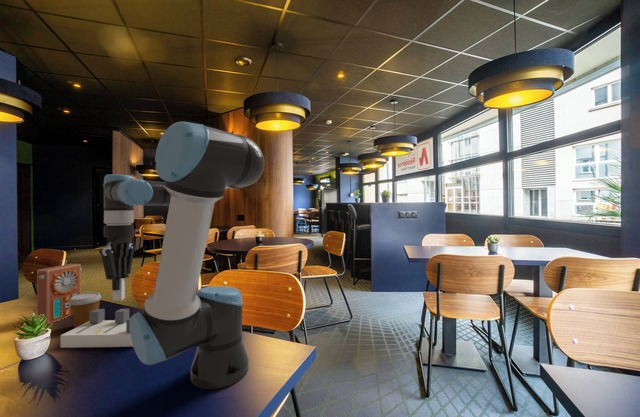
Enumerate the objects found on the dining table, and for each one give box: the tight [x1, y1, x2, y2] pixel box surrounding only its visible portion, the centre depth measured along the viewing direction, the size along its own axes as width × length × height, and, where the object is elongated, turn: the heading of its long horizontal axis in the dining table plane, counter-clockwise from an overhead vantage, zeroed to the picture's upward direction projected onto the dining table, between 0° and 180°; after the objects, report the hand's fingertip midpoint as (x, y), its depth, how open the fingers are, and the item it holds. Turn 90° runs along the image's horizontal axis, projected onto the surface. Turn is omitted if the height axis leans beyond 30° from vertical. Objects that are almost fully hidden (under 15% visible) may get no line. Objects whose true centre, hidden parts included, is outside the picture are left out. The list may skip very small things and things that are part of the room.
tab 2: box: [114, 308, 130, 323], centre depth 99 cm, size 3×3×4 cm
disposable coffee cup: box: [69, 291, 102, 329], centre depth 105 cm, size 10×10×12 cm
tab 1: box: [90, 308, 106, 323], centre depth 99 cm, size 3×3×4 cm
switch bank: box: [60, 319, 134, 349], centre depth 95 cm, size 12×26×4 cm, turn 91°
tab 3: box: [126, 316, 132, 332], centre depth 92 cm, size 3×3×4 cm
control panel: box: [36, 263, 83, 325], centre depth 114 cm, size 21×7×15 cm
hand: (118, 299), depth 85 cm, fingers closed
